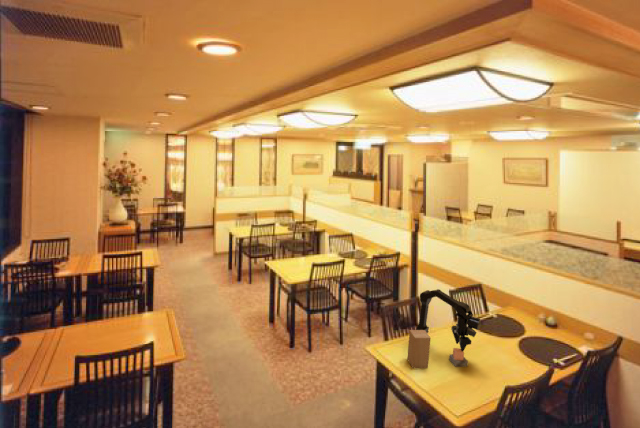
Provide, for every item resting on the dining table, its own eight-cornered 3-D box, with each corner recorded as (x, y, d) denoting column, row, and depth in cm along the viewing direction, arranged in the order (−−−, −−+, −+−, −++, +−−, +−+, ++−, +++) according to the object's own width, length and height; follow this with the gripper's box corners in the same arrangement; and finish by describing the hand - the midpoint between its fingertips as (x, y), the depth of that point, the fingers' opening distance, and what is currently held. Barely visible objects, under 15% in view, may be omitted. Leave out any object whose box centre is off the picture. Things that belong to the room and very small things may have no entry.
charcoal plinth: (454, 367, 223) (455, 361, 222) (449, 360, 231) (449, 354, 230) (467, 367, 224) (467, 361, 223) (460, 359, 232) (461, 354, 231)
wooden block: (407, 359, 229) (409, 329, 226) (422, 358, 230) (424, 329, 227) (412, 368, 220) (414, 337, 216) (428, 368, 220) (430, 337, 217)
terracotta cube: (454, 359, 224) (455, 352, 223) (452, 355, 229) (453, 348, 228) (463, 360, 224) (464, 352, 223) (460, 356, 229) (461, 348, 228)
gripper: (481, 332, 213) (478, 356, 216) (469, 318, 232) (467, 340, 234) (462, 331, 214) (459, 355, 216) (452, 317, 232) (450, 339, 235)
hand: (459, 347), depth 225 cm, fingers open, 9 cm apart
